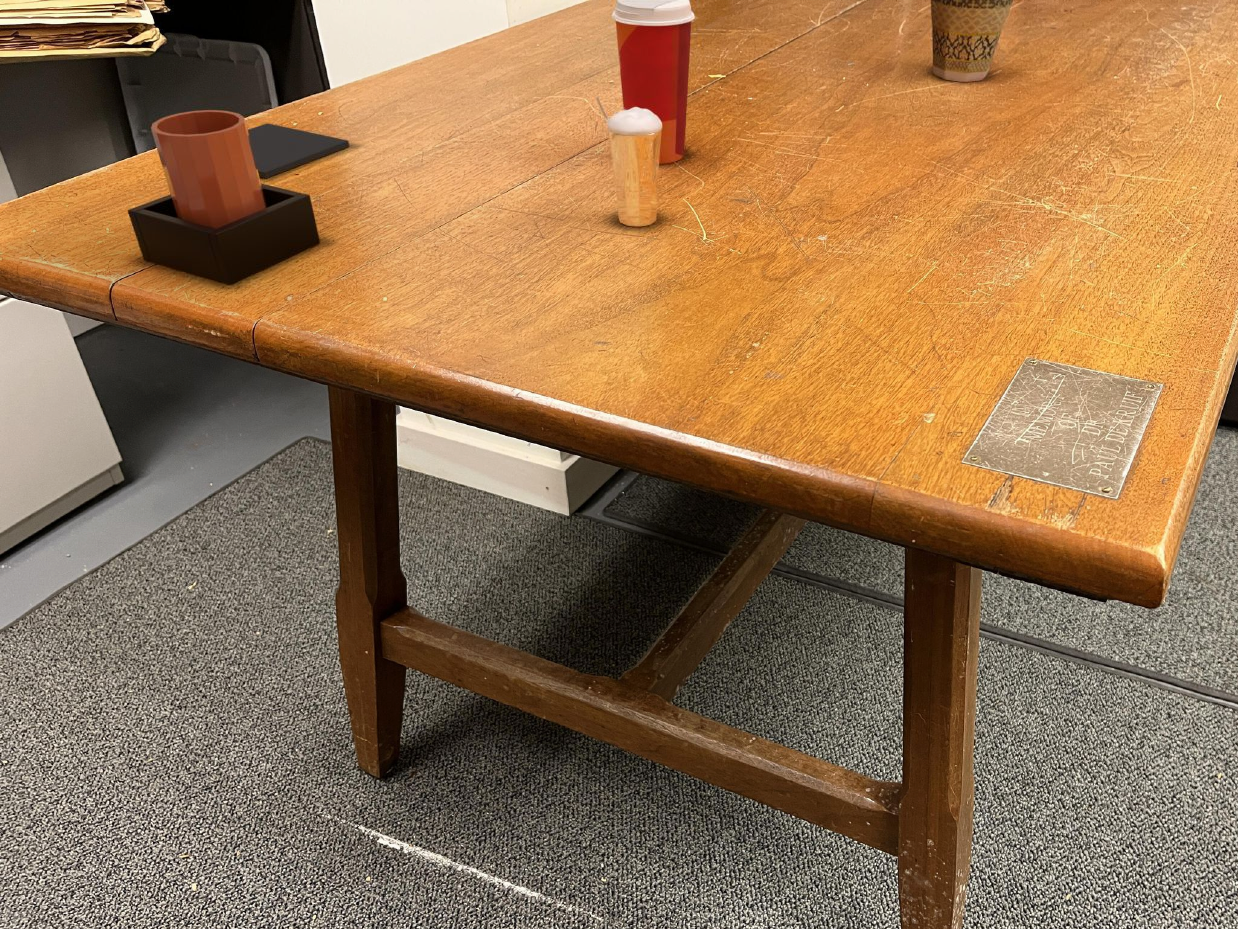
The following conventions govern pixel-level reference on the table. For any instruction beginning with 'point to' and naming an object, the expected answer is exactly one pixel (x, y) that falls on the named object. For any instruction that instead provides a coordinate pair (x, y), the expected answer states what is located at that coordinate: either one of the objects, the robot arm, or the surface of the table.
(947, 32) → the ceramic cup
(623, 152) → the milkshake
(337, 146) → the coaster
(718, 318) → the table surface
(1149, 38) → the table surface
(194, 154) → the cup
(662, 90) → the paper cup
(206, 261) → the open black box
